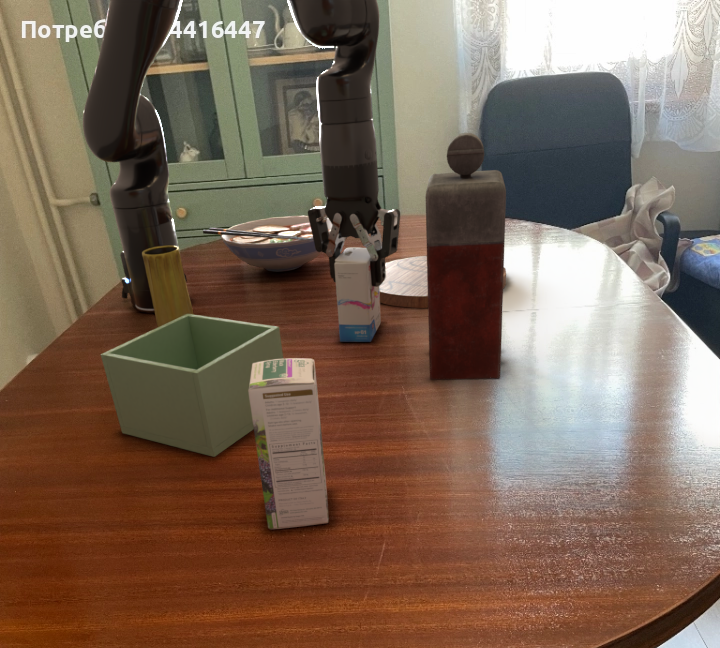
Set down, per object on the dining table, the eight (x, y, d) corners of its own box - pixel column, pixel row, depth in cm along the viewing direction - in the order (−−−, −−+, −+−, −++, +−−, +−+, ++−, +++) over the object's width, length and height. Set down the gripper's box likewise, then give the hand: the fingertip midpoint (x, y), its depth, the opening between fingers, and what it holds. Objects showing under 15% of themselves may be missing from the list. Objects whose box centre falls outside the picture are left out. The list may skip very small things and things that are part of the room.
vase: (207, 338, 112) (189, 244, 105) (187, 353, 108) (167, 256, 100) (173, 336, 114) (153, 244, 107) (152, 351, 109) (129, 255, 102)
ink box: (372, 343, 106) (366, 261, 99) (339, 343, 107) (331, 262, 101) (382, 322, 113) (378, 245, 107) (351, 322, 114) (345, 246, 108)
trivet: (473, 314, 113) (473, 302, 112) (336, 299, 124) (335, 288, 123) (526, 270, 131) (526, 259, 130) (402, 260, 142) (402, 251, 141)
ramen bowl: (367, 256, 147) (364, 214, 142) (300, 289, 131) (294, 243, 127) (270, 247, 159) (265, 208, 155) (198, 277, 143) (190, 234, 139)
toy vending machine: (496, 345, 101) (503, 124, 87) (500, 378, 92) (508, 136, 77) (432, 347, 103) (428, 129, 88) (429, 379, 93) (424, 141, 79)
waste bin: (121, 433, 87) (100, 354, 81) (202, 386, 97) (187, 313, 92) (214, 457, 80) (197, 373, 75) (289, 403, 90) (279, 326, 85)
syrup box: (269, 498, 72) (247, 361, 64) (329, 491, 72) (313, 354, 64) (268, 531, 67) (244, 387, 59) (332, 524, 67) (316, 380, 60)
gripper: (409, 154, 96) (413, 280, 105) (319, 153, 103) (330, 272, 112) (382, 163, 91) (389, 295, 100) (289, 162, 98) (303, 286, 106)
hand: (358, 282), depth 106 cm, fingers closed on ink box, 6 cm apart
